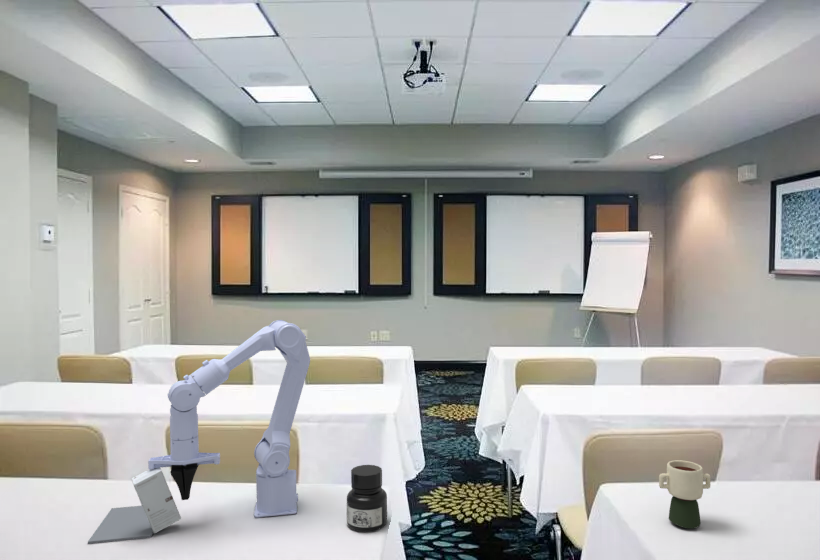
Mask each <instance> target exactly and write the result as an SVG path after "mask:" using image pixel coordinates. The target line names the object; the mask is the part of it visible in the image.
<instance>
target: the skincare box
mask: <svg viewBox="0 0 820 560" xmlns="http://www.w3.org/2000/svg"><path fill="white" fill-rule="evenodd" d="M161 468H162V467H160V468H154V469H148V470H145V471H143V472H141V473H140V474H137V475H136V476H134V477H131V478H130V480H131V482H132V485H133V488H134V490H135V492H136V494H137V497H138V500H139V502H140V504H141V505H140V506H142V507H143V509H144V511H145V514H146V516H147V518H148V521H149V523H150V525H151V528H152V530H153V532H154V533H153V534H156V533H158V532H160V531H163V530H164V529H166V528H167V527H169V526H171V525H173V524H175V523H176V522H178V521H180V520H182V517H181V513H180V512H179V509H178V506H177V505H176V501H175V500H174V498H173V497H174V496H173V495H172V492H171V490H170V487H169V485H168V483H167V480H166V477H165V474H164V472H163V470H162V469H161Z"/></svg>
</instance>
